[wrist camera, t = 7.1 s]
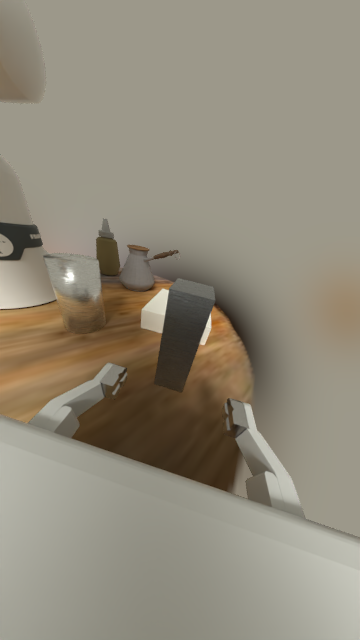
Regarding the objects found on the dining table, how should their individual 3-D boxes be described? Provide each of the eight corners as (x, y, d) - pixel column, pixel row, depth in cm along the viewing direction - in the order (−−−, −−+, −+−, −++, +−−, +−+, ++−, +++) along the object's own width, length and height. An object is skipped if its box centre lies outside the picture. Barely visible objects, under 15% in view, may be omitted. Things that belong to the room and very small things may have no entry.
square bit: (154, 384, 19) (169, 288, 11) (162, 362, 22) (178, 278, 15) (181, 392, 18) (215, 300, 11) (186, 369, 22) (213, 287, 15)
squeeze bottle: (106, 277, 49) (100, 217, 40) (93, 271, 52) (85, 214, 43) (124, 275, 55) (123, 223, 46) (112, 270, 58) (108, 219, 49)
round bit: (61, 319, 26) (40, 251, 20) (99, 311, 30) (91, 255, 24) (70, 338, 22) (46, 263, 16) (110, 327, 27) (104, 264, 21)
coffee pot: (112, 283, 46) (109, 232, 38) (140, 280, 54) (141, 237, 46) (156, 310, 36) (163, 249, 28) (181, 301, 45) (192, 252, 37)
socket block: (140, 327, 29) (141, 309, 26) (160, 302, 40) (162, 288, 38) (204, 345, 28) (211, 328, 25) (205, 314, 40) (210, 300, 37)
